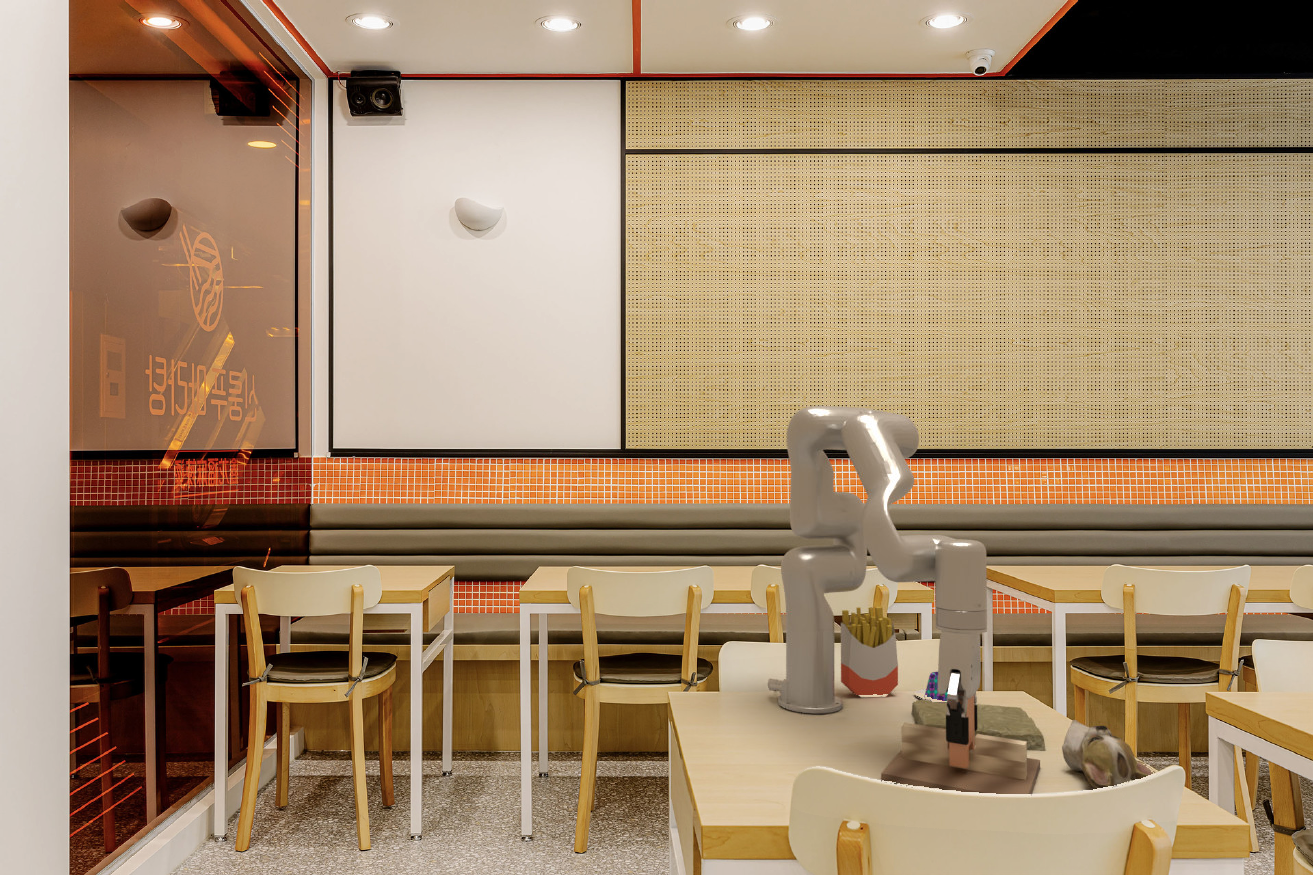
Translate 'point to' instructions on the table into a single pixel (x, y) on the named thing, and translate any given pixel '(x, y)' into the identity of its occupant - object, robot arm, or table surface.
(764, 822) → the table surface
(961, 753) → the notched plate
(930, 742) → the slotted stand
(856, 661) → the french fries container
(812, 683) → the robot arm
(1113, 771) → the ceramic sculpture
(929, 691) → the pudding
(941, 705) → the decorative tile
